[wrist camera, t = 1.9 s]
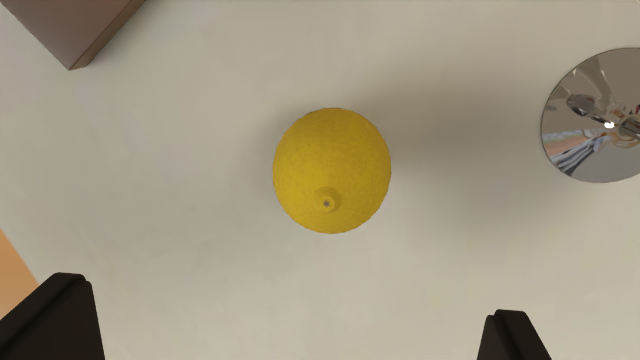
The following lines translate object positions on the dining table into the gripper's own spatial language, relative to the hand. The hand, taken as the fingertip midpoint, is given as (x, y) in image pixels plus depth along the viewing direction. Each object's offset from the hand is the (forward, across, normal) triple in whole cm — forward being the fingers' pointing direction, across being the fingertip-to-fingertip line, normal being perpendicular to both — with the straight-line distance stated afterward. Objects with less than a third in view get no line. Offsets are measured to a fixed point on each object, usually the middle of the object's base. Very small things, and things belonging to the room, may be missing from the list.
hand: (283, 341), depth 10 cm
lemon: (+16, 0, 0) cm, 16 cm away
